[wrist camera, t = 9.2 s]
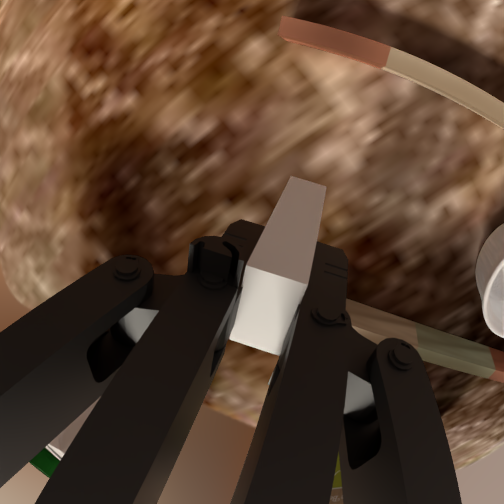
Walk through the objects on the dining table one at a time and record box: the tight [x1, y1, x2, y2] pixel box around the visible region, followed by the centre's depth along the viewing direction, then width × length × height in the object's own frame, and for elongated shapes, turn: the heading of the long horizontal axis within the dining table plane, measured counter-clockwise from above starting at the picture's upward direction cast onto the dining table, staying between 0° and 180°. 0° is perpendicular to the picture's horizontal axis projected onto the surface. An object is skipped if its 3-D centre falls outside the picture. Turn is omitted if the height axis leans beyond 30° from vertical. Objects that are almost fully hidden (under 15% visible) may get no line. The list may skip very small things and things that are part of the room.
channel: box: [278, 16, 504, 383], centre depth 18 cm, size 19×31×4 cm, turn 77°
